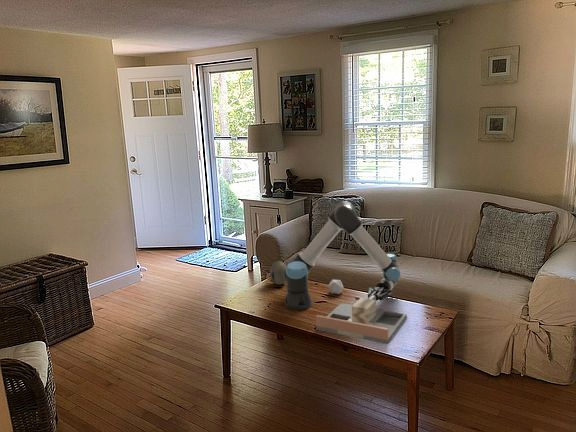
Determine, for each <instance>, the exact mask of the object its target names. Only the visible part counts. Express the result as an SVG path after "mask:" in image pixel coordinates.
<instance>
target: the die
mask: <svg viewBox="0 0 576 432" xmlns="http://www.w3.org/2000/svg"><path fill="white" fill-rule="evenodd" d="M327 285H328V286H327V287H328V290H329V292H330V293H331V295H333V294H334V295H340V294H341V293H342V292H343V290H344V285H343V282H342V281H341V280H340V279H331V281H330V282H329V283H328V284H327Z"/></svg>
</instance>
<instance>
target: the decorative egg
mask: <svg viewBox="0 0 576 432" xmlns="http://www.w3.org/2000/svg"><path fill="white" fill-rule="evenodd" d="M286 266H287V265H286V263H284V262H282V261H281V260H279V261H277V260H276V261H274V263H272V264H271V267H270V269H269V276H270V279H271V282H273V283H274V284H276V285H278V286H279V285H283V284H285V283H287V278H286Z"/></svg>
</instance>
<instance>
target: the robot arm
mask: <svg viewBox="0 0 576 432" xmlns="http://www.w3.org/2000/svg"><path fill="white" fill-rule="evenodd" d="M327 217H328V218H327V219H328V221H326V223H325V224H324V226H323V227H322V228H321V230H320V231H319V232H318V233H317V234H316V235H315V237H314V238H313V239H312V241H311V242H309V244H308V245H307V246H306V248H305V249H303V251H301V252H298V253H297V254H296V256H294V257H293V258H292V259H291V261H290V262H289V263H287V265H286V278H287V281H286V295H285V300H284V306H285V308H287V309H289V310H291V311H292V310H293V311H301V310H307V309H309V308H311V307H312V305H313V299H312V297H311V294H310V292H309V283H308V282H309V278H308V277H309V273H310V272H311V270H312V269H313V268H314V267H315V266H316V265H315V262H316V260H317V259H318V258H319V257H320V255H321V254H322V253H323V252H324V251H325V250H326V248H327V247H328V246H329V245H330V243H331V242H332V241H333V240H334V239H335V237H336V236H337V235H338V234H339V233H340V232H341V231H344V232H346V234H347V235H349V236H351V237H352V238H354V240H355V241H356V243H357V244H359V246H360V247H361V248H362V249H363V250H364V252H366V254H367V255H368V256H369V257H370V259H372V261H373V262H374V263H375V264H376V265H377V267H379V269H380V270H381V271H382V279H381V280H379V282H378V283H377V284H376V286H375V287H373V288H372V287H368V292H367V299H373V300H376V302H377V301H381V302H382V301H383V300H385V299H386V298H388V297H391V296H392V290H393V288H395V286H397V284H398V282H399V281H400V277H401V270H400V268H399V266H398V264H397V261H398V259H397V255H396V254H393V253H386V252H385V251H384V250H383V248H382V247H381V246H380V244H379V243H377V241H376V240H375V239H374V238H373V237H372V236H371V235H370V233H369V232H368V231H367V230H366V229H365V228H364V226H363V222H362V221H361V220H360V218H359V217H358V214H357V213H356V208H355V205H353V204H352V203H351V202H349V201H347V200H345V201H343V200H342V201H340V202H338V203H337V204H336V205H335V206H334V209H333V210H332V211H331V212H330V214H329V215H328V216H327Z"/></svg>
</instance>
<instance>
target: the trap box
mask: <svg viewBox="0 0 576 432" xmlns="http://www.w3.org/2000/svg"><path fill="white" fill-rule="evenodd" d="M353 305H354V304H348V303H344V302H343V303H342V302H340V303H339V305H338V306H336V308H334V309H333V310H332V311H331V312H330V313H328V314H327V315H326V316H324V315H321V314H317V315H315V328H316V331H317V330H318V331H323V332H327V333H333V334H337V335H341V336H347V337H351V338H356V339H361V340H365V341H366V340H367V341H370V342H376V343H380V344H384V345H385V344H386V345H388V344H389V343H390V342H391V340H392V339H393V337H394V336H395V335H396V334H397V332H398V331H399V329H400V328H401V326H403V324H404V322H406V320H407V317H408V316H407V315H408V314H407V313H401V312H396V311H389V310H384V309H378V308H376V316H375V317H374V318H373V319H372V320H371V321H370V322H369V323H368V324H363V323H358V322H353V321H352V306H353Z"/></svg>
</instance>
